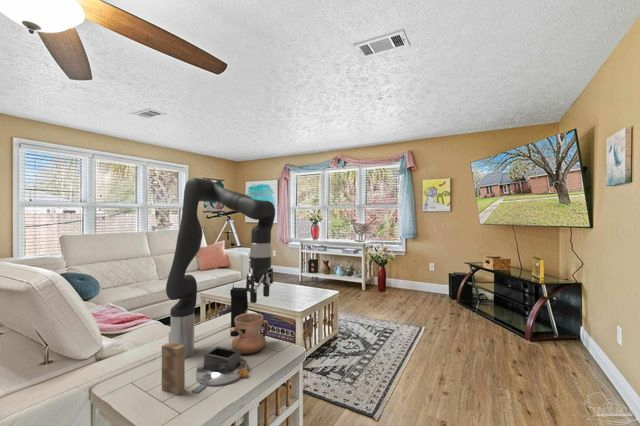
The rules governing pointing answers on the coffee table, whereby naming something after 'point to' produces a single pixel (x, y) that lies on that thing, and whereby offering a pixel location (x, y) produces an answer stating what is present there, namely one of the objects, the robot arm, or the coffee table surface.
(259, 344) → the ceramic jug
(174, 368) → the brown wooden block
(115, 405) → the coffee table surface
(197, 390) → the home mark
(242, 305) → the portable radio
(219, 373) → the grey disc
